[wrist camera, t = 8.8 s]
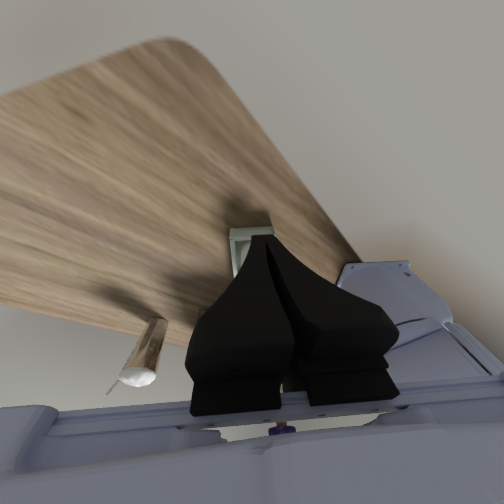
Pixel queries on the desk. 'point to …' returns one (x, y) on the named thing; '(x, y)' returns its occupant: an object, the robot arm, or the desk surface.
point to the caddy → (244, 243)
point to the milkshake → (144, 355)
